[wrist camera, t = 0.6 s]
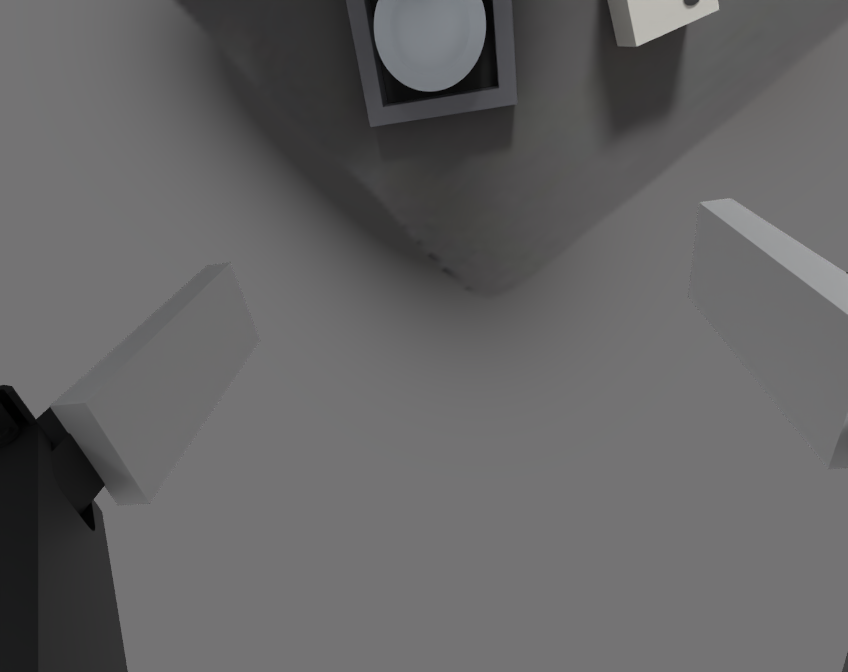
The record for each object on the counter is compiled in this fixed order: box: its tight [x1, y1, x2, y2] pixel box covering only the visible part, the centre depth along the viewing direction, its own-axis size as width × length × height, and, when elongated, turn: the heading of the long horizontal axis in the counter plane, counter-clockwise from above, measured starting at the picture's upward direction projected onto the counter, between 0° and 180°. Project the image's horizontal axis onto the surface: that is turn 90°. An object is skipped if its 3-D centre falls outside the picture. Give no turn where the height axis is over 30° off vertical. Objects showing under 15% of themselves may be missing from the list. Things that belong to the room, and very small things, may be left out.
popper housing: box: [346, 0, 518, 127], centre depth 29 cm, size 9×9×2 cm
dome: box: [374, 0, 486, 92], centre depth 27 cm, size 6×6×5 cm
